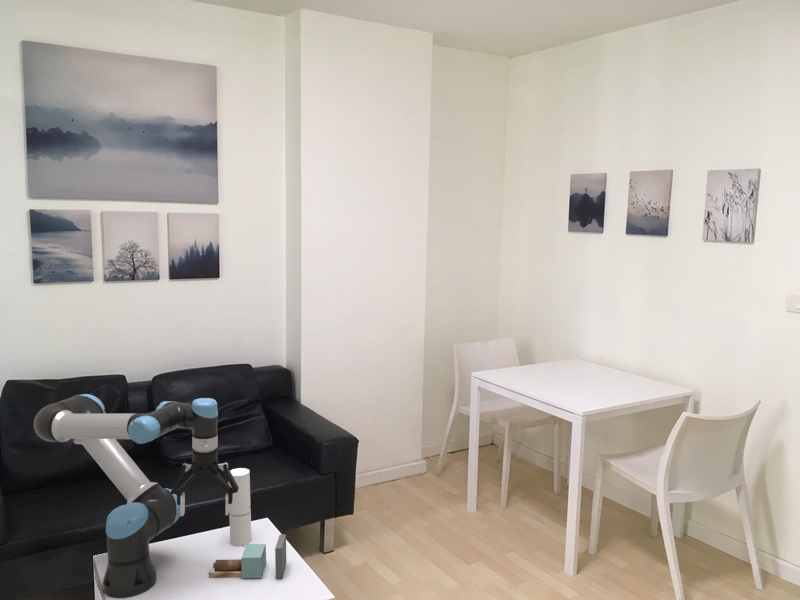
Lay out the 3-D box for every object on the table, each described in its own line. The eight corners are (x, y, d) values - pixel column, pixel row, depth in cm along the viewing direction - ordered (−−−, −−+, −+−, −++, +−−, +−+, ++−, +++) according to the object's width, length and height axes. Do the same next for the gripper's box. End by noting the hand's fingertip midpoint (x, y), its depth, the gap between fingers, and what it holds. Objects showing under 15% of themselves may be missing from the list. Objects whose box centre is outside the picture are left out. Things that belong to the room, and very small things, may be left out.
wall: (275, 579, 200) (275, 548, 199) (280, 563, 209) (279, 534, 208) (282, 578, 200) (281, 548, 199) (286, 563, 209) (285, 534, 208)
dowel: (214, 575, 202) (214, 563, 201) (217, 569, 206) (217, 557, 205) (240, 575, 202) (239, 563, 202) (242, 569, 206) (242, 557, 206)
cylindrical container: (254, 536, 227) (252, 468, 224) (247, 546, 220) (245, 476, 217) (234, 535, 228) (232, 467, 225) (227, 545, 220) (224, 475, 218)
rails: (208, 577, 200) (208, 573, 200) (213, 566, 207) (213, 562, 207) (240, 577, 201) (240, 572, 201) (245, 566, 207) (245, 562, 207)
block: (241, 578, 200) (241, 557, 199) (247, 563, 208) (246, 544, 207) (261, 577, 200) (260, 557, 199) (266, 563, 208) (265, 543, 208)
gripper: (160, 453, 194) (160, 520, 197) (244, 452, 198) (244, 518, 200) (166, 444, 202) (166, 509, 205) (247, 444, 205) (247, 507, 208)
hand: (205, 513), depth 202 cm, fingers open, 13 cm apart
